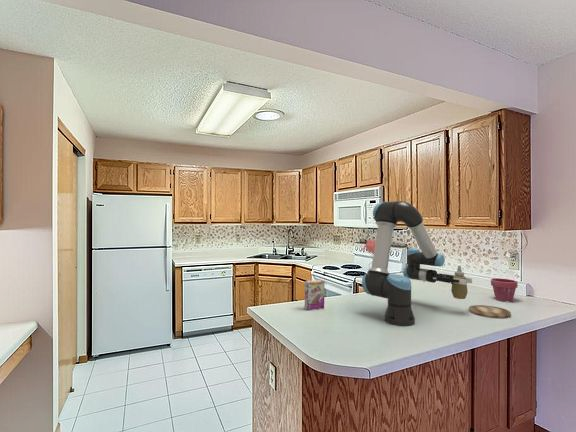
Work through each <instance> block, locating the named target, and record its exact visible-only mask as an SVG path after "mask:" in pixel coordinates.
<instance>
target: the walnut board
mask: <svg viewBox="0 0 576 432" xmlns="http://www.w3.org/2000/svg"><path fill="white" fill-rule="evenodd" d="M468 312H469V313H471V314H473V315H475V316H479V317H483V318H491V319H508V317H509V318H511V317H512V312H511V311H510V310H508V309H505V308H503V307H499V306H498V307H497V306H494V305H486V304H474V305H470V306H468ZM510 316H511V317H510Z"/></svg>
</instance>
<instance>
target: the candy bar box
mask: <svg viewBox="0 0 576 432" xmlns="http://www.w3.org/2000/svg"><path fill="white" fill-rule="evenodd" d="M305 308H306V309H307V310H306V309H305ZM319 308H324V309H325V280H321V279H319V280H318V279H317V280H305V281H304V309H305V310H306V311H311V310H310V309H316V310H320V309H319Z"/></svg>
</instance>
